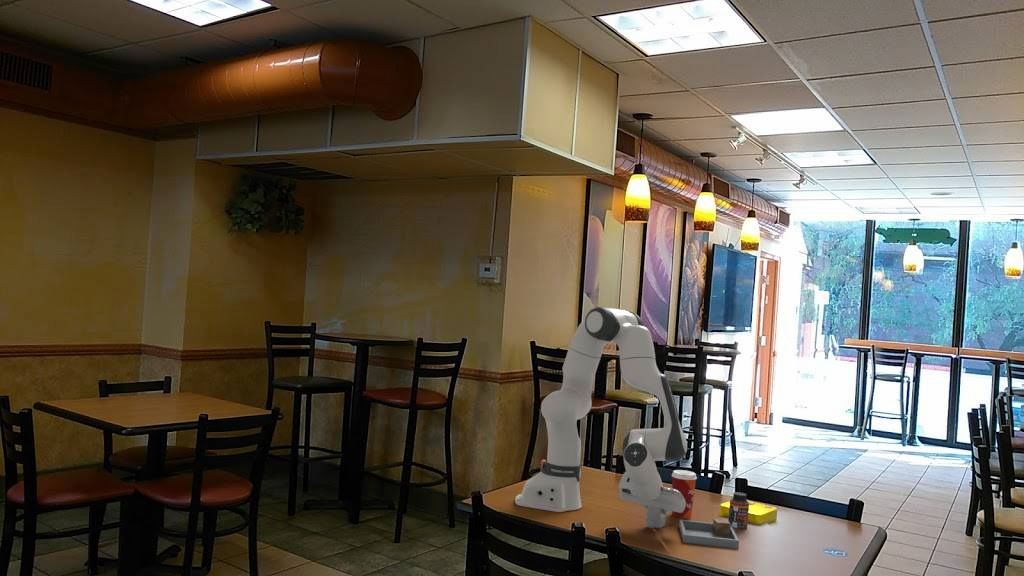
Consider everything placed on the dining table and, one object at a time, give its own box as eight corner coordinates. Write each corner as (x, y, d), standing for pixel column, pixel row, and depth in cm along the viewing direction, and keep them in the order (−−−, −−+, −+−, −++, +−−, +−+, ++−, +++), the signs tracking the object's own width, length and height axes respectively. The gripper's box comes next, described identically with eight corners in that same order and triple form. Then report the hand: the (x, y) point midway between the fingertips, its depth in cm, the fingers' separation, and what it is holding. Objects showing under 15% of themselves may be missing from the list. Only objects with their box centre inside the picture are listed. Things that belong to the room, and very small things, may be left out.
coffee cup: (694, 523, 239) (697, 476, 239) (668, 519, 241) (671, 473, 241) (693, 516, 247) (696, 471, 248) (668, 513, 249) (671, 468, 249)
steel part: (659, 530, 229) (661, 499, 229) (645, 526, 231) (648, 496, 231) (664, 526, 232) (666, 496, 232) (651, 523, 235) (653, 493, 235)
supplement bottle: (737, 532, 232) (739, 496, 232) (723, 527, 237) (726, 491, 237) (751, 531, 234) (753, 495, 235) (737, 525, 240) (739, 490, 240)
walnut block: (716, 535, 224) (717, 522, 224) (712, 531, 228) (713, 518, 228) (729, 536, 224) (730, 523, 224) (725, 532, 228) (726, 519, 228)
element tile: (716, 517, 250) (717, 502, 250) (737, 510, 261) (737, 496, 261) (759, 528, 239) (760, 513, 239) (778, 520, 250) (779, 506, 250)
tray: (683, 545, 216) (683, 534, 216) (679, 529, 231) (679, 519, 231) (738, 551, 214) (739, 540, 214) (730, 534, 229) (731, 525, 229)
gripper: (683, 482, 220) (692, 509, 229) (620, 470, 231) (630, 495, 240) (677, 500, 217) (686, 526, 225) (613, 487, 228) (624, 512, 236)
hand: (657, 510), depth 232 cm, fingers closed on steel part, 4 cm apart
